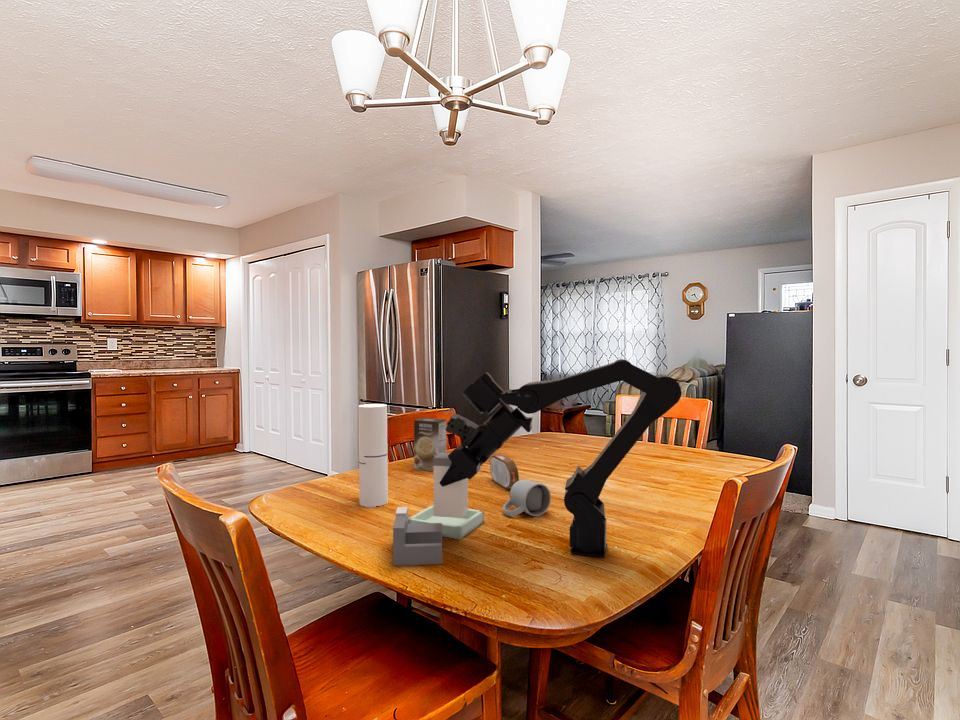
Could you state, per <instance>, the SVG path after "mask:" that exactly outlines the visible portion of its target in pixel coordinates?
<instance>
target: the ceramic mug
mask: <svg viewBox="0 0 960 720" xmlns="http://www.w3.org/2000/svg"><path fill="white" fill-rule="evenodd" d="M551 497H552V496H551V491H550V488H549V487H548V486H547V485H545V484H544V483H542V482H537V481H532V480H529V479H519V481H517V482H516V483H514V484H513V486H512V487H511V489H509V500H508V501H506V502H505V503H504V504H503V506H502V511H503V512H504V514H505V516H507V517H515V516H518V515H520V514H522V513H525V514H527V515H530V516H532V517H540V516H542V515H544V514H545V513H546V512H547V511H548V509H549V508H550V504H551V502H552V501H551V500H552V498H551ZM512 506H514V507H515V508H514V509H511V510H509V509H510V508H511V507H512Z"/></svg>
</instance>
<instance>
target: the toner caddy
mask: <svg viewBox="0 0 960 720" xmlns="http://www.w3.org/2000/svg"><path fill="white" fill-rule="evenodd" d="M450 453H451V452H446V453H439V454H438V455H437V456H435V457H434V458H433V466H434V471H433V504H434V516H439V517H453V518H463V516H464V515H465V514H466V512H467V511H468V509H469V507H468V506H469V505H468V504H469V503H468V502H469V501H468V499H469V496H468V495H469V493H468V492H469V490H468V489H469V479H468V478H466V479H463V480H460V481H458V482H455V483H452V484H449V485H446V486H444V487H442V486H441V485H440V481H441V479H442V478H443V476H444V475H445V473H446V472H447V470H448V469H449V467H450V466H451V460H450V459H449V457H448V455H449V454H450Z"/></svg>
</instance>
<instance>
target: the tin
mask: <svg viewBox="0 0 960 720" xmlns="http://www.w3.org/2000/svg"><path fill="white" fill-rule="evenodd" d="M489 466H490V467H489V468H490V475H491V479H492V480H493V481H494V482H495V483H496V484H497V485H499V486H500V487H502V488H503V489H505V490H511V487H512V486H513V484H514V483H516V482H517V481H519V480H520V475H519V470H518V466H517V464H516V462H515V461H514V459H513V458H511V457H508V456H506V455H504V454H502V453H498V454H493V455H492V456H491V457H490V458H489Z"/></svg>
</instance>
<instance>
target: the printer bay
mask: <svg viewBox="0 0 960 720" xmlns="http://www.w3.org/2000/svg"><path fill="white" fill-rule="evenodd" d="M408 509H409V507H408V506H397V508H396V511H395V519H394V523H393V528H392V555H393V556H392V557H393V558H392V561H393V563H392V565H393V567H394V566H399V567H400V566H425V565H429V566H430V565H443V537H442V523H423V524H408V518H409V517H408V516H409V515H408V514H409V513H408V512H409V511H408Z"/></svg>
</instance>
